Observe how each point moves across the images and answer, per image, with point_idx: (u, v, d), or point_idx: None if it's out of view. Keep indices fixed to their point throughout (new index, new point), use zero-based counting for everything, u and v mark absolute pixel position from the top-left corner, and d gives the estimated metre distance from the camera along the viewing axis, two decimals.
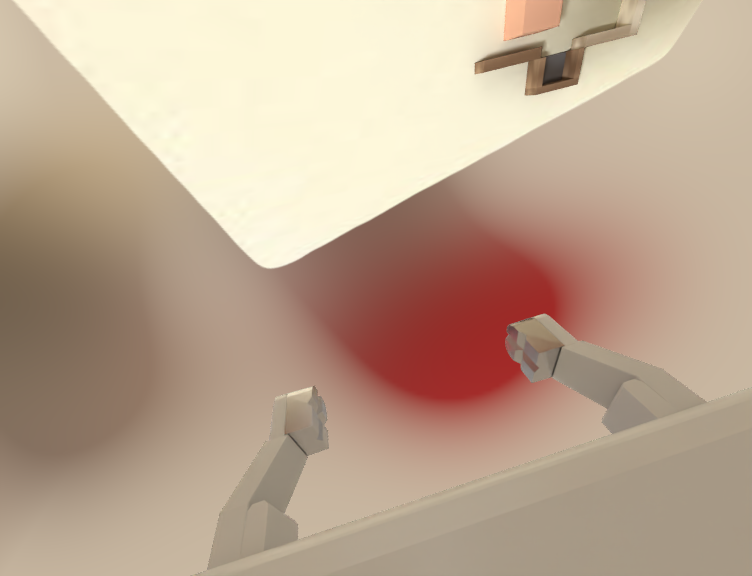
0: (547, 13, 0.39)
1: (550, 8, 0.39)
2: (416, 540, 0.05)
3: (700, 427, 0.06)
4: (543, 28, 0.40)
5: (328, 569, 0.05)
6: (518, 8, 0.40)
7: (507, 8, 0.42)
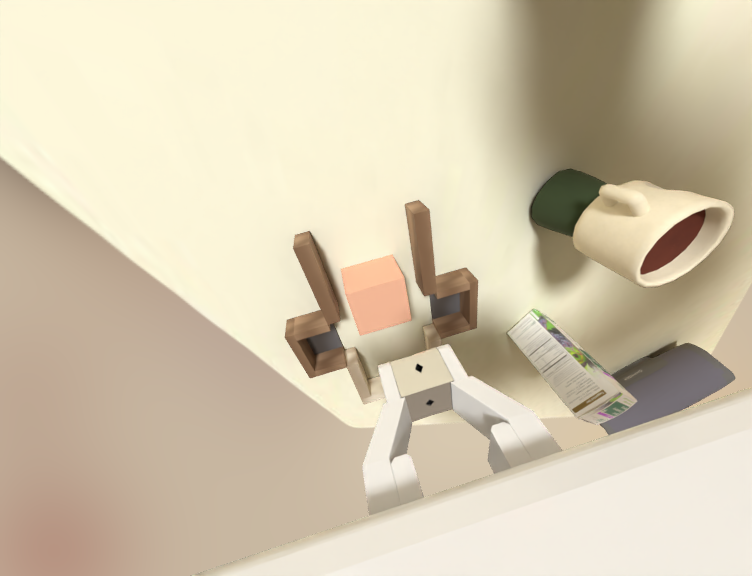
0: (370, 316, 0.28)
1: (375, 318, 0.29)
2: (416, 540, 0.05)
3: (700, 427, 0.06)
4: (355, 318, 0.28)
5: (328, 569, 0.05)
6: (373, 277, 0.27)
7: (374, 261, 0.30)
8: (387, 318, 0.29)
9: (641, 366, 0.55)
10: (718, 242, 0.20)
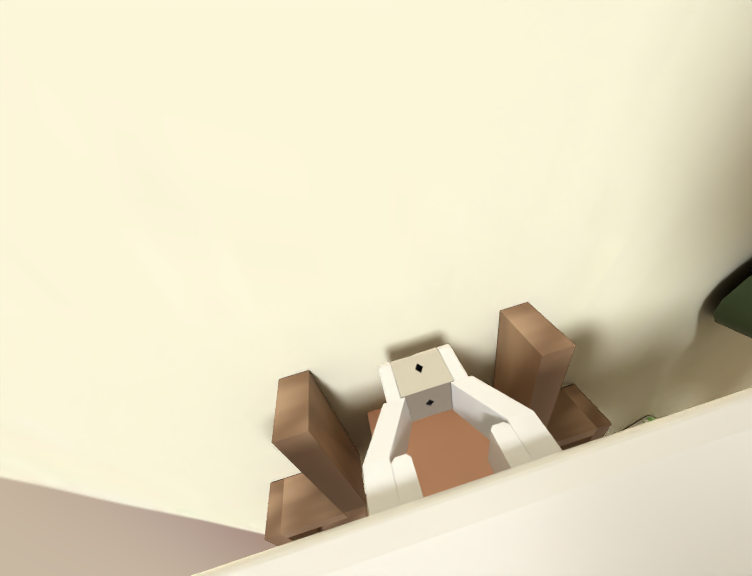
0: None
1: None
2: (416, 540, 0.05)
3: (700, 427, 0.06)
4: None
5: (328, 569, 0.05)
6: (437, 455, 0.14)
7: None
8: None
9: None
10: None
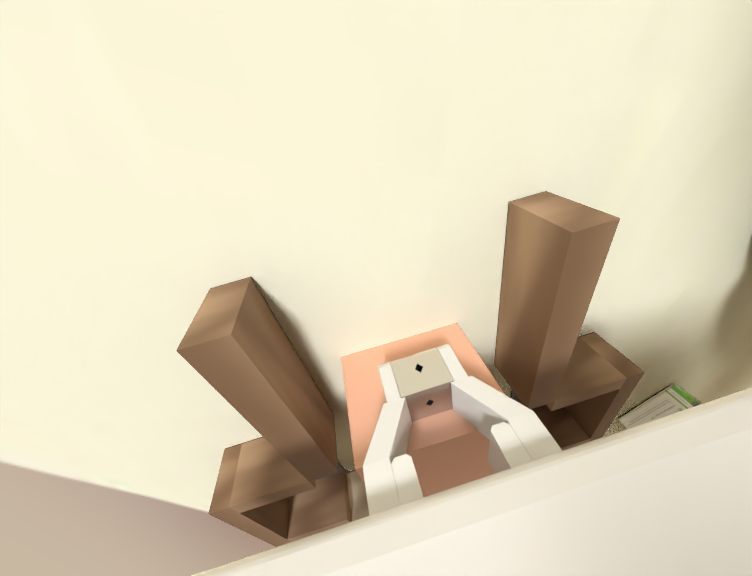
0: None
1: (425, 491, 0.12)
2: (416, 540, 0.05)
3: (700, 427, 0.06)
4: None
5: (328, 569, 0.05)
6: None
7: (418, 343, 0.13)
8: (453, 485, 0.12)
9: None
10: None
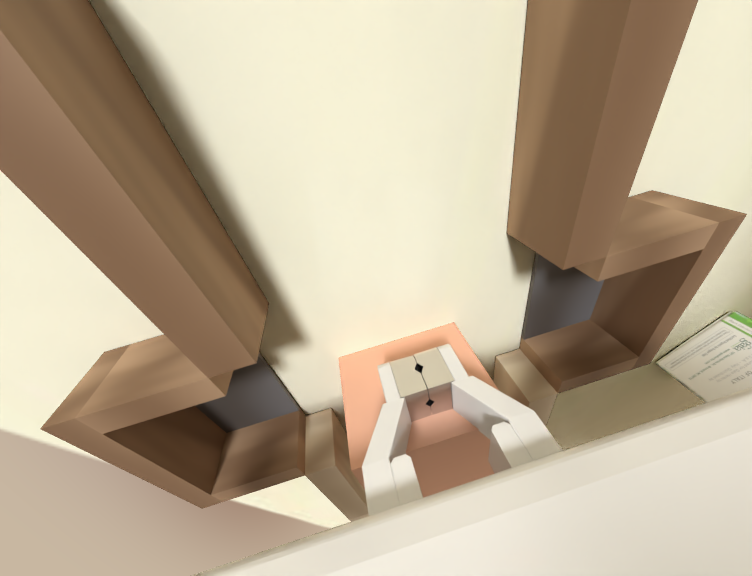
0: None
1: (423, 491, 0.12)
2: (416, 540, 0.05)
3: (700, 427, 0.06)
4: None
5: (328, 569, 0.05)
6: None
7: (415, 344, 0.13)
8: (451, 485, 0.12)
9: None
10: None
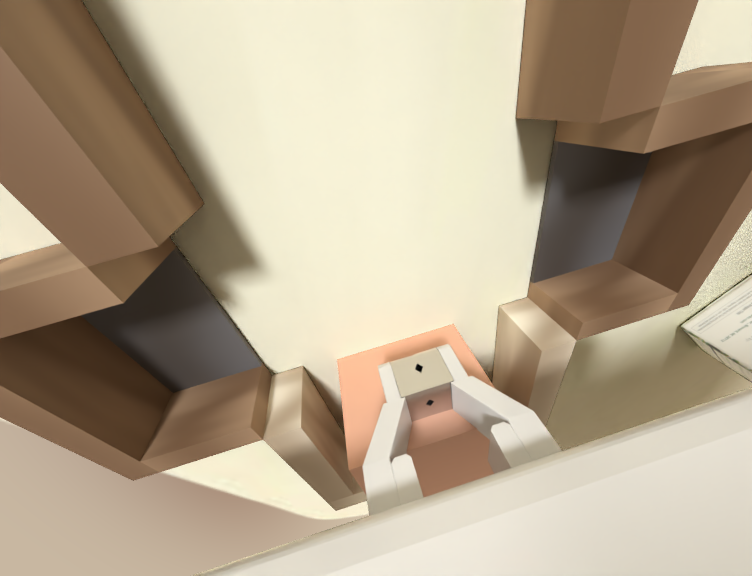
0: None
1: None
2: (416, 540, 0.05)
3: (700, 427, 0.06)
4: None
5: (328, 569, 0.05)
6: None
7: (414, 344, 0.13)
8: (449, 486, 0.12)
9: None
10: None
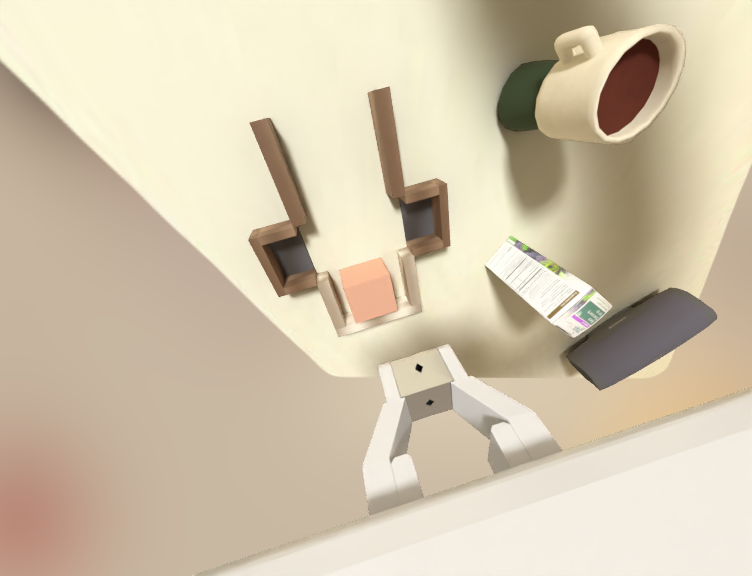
0: (364, 307, 0.35)
1: (368, 309, 0.35)
2: (416, 540, 0.05)
3: (700, 427, 0.06)
4: (351, 309, 0.35)
5: (328, 570, 0.05)
6: (365, 275, 0.34)
7: (366, 263, 0.36)
8: (377, 309, 0.36)
9: (624, 315, 0.54)
10: (674, 86, 0.20)
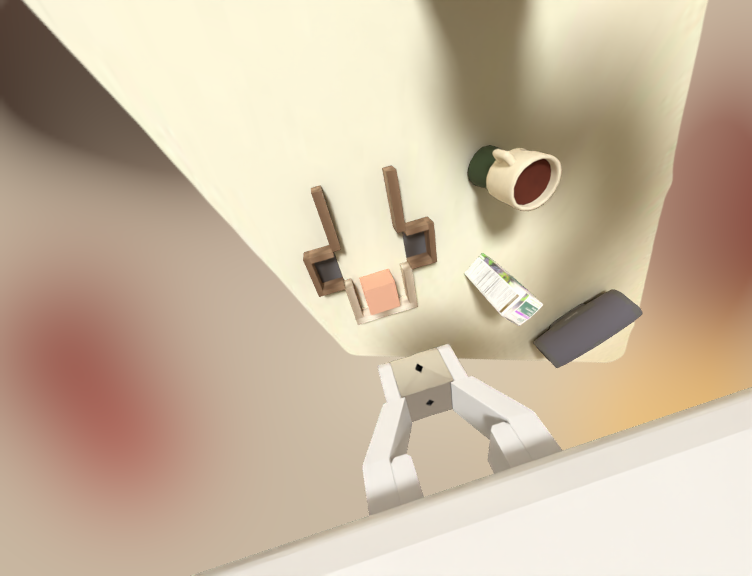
0: (377, 304, 0.51)
1: (379, 305, 0.51)
2: (416, 540, 0.05)
3: (700, 427, 0.06)
4: (368, 305, 0.50)
5: (328, 569, 0.05)
6: (378, 282, 0.50)
7: (378, 273, 0.52)
8: (386, 305, 0.51)
9: (577, 310, 0.69)
10: (558, 181, 0.35)
